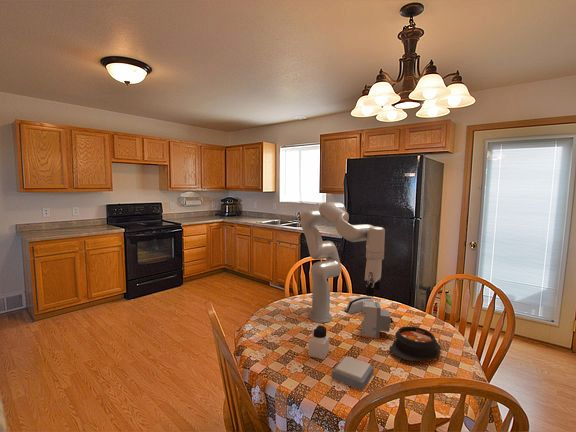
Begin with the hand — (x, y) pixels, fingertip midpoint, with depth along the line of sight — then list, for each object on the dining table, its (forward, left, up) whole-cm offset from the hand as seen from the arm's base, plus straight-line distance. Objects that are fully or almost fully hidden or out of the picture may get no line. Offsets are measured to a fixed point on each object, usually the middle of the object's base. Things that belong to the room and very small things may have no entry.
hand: (373, 292), depth 133 cm
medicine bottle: (-17, -18, -26) cm, 36 cm away
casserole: (+17, +8, -26) cm, 32 cm away
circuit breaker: (-2, +14, -26) cm, 29 cm away
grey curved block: (-19, +36, -26) cm, 48 cm away
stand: (+1, -24, -25) cm, 35 cm away
